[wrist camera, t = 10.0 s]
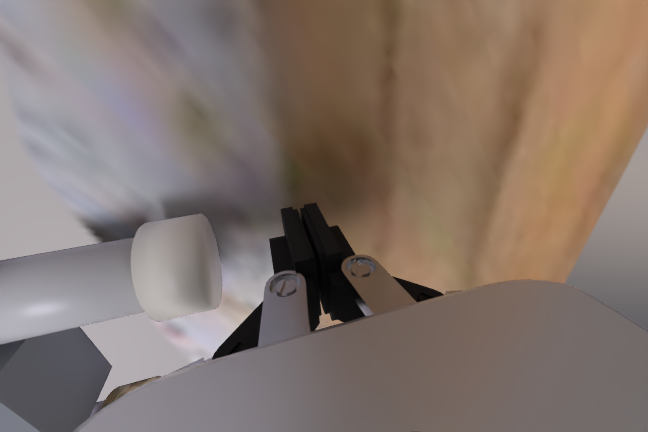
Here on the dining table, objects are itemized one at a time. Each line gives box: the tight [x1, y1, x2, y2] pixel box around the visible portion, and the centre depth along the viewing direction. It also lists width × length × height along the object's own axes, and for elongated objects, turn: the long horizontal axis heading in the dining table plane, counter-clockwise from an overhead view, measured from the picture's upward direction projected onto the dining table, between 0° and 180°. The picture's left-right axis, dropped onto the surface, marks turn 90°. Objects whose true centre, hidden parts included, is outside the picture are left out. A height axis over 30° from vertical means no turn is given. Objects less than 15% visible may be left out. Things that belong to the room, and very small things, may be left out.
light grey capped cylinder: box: [0, 214, 222, 345], centre depth 10 cm, size 4×10×4 cm, turn 94°
